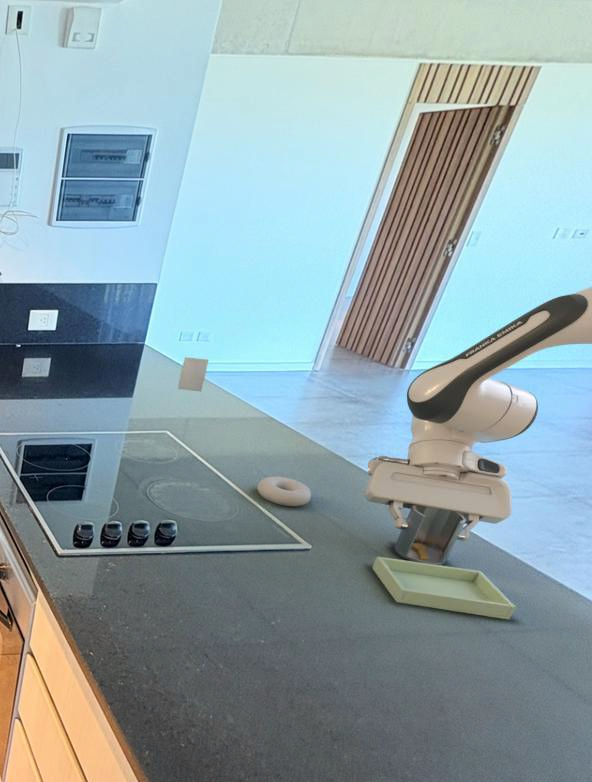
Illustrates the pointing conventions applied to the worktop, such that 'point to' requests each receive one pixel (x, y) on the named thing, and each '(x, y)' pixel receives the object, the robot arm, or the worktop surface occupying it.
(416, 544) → the key
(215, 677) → the worktop surface
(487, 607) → the tray
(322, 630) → the worktop surface
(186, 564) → the worktop surface
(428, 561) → the steel cup
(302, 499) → the donut
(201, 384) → the pinkish tan block
